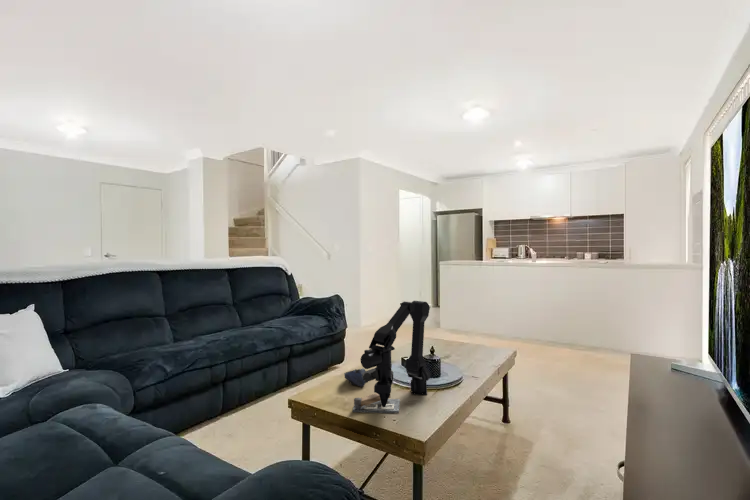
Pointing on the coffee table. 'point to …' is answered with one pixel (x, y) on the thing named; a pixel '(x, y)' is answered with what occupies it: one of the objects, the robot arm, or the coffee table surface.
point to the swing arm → (366, 400)
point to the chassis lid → (379, 410)
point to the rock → (355, 377)
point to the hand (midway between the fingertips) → (384, 402)
